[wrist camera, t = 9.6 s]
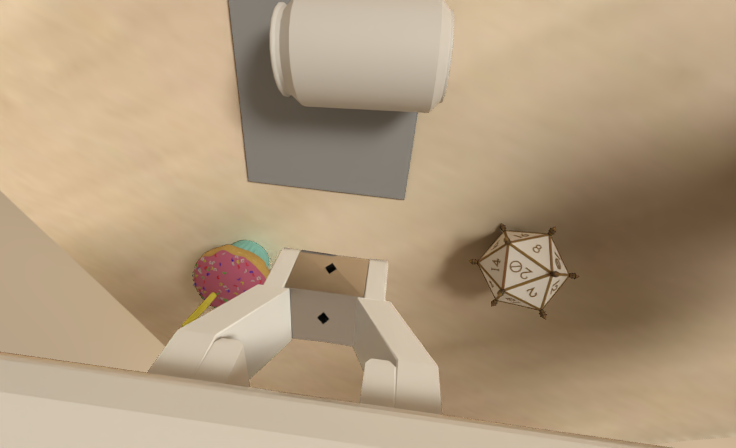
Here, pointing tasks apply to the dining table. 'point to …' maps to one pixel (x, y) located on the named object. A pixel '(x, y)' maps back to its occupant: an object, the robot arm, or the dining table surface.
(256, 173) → the mat
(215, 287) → the cupcake
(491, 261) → the game die
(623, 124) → the dining table surface
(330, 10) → the can
